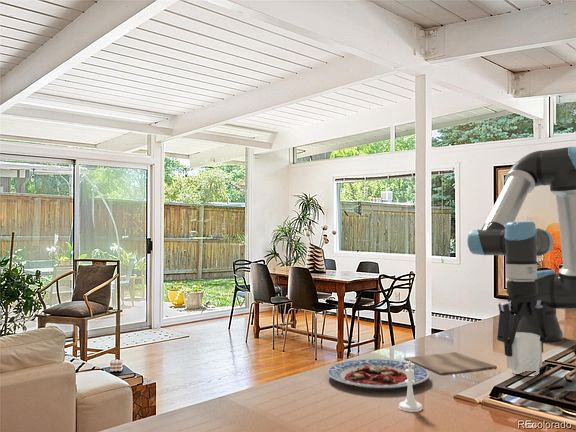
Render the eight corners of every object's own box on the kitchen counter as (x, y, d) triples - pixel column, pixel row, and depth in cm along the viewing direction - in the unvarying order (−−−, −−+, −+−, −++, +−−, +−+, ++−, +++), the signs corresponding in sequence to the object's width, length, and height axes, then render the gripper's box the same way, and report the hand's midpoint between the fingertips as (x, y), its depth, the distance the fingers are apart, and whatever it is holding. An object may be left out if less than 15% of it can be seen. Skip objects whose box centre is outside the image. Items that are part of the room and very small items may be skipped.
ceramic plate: (413, 402, 115) (412, 388, 115) (310, 387, 128) (310, 374, 128) (440, 373, 138) (439, 362, 138) (350, 363, 150) (350, 352, 150)
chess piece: (395, 404, 113) (394, 358, 113) (417, 403, 113) (416, 358, 114) (402, 412, 108) (401, 364, 108) (425, 411, 108) (424, 363, 109)
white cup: (545, 378, 131) (543, 338, 131) (512, 377, 132) (510, 337, 133) (536, 369, 138) (535, 332, 139) (505, 368, 140) (504, 331, 140)
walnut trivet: (455, 353, 158) (455, 352, 158) (496, 368, 141) (496, 366, 141) (404, 359, 152) (404, 357, 152) (440, 375, 135) (440, 373, 135)
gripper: (500, 283, 129) (503, 374, 129) (563, 279, 136) (566, 366, 135) (480, 280, 136) (482, 367, 136) (541, 277, 143) (544, 359, 142)
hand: (524, 366), depth 135 cm, fingers closed on white cup, 8 cm apart
